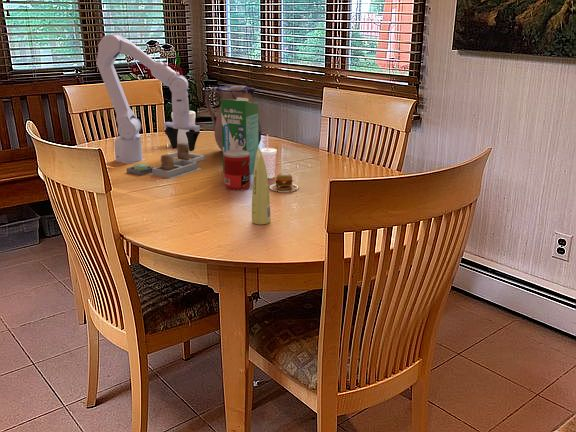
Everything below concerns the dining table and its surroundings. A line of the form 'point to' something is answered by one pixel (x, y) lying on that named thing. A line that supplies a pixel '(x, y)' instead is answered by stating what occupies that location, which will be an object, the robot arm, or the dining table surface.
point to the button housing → (138, 172)
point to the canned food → (237, 169)
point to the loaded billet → (167, 162)
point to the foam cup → (181, 133)
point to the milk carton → (240, 127)
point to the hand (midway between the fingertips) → (183, 149)
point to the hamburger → (283, 182)
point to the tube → (260, 192)
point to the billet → (183, 151)
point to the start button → (140, 166)
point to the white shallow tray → (195, 157)
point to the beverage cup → (269, 160)
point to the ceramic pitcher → (231, 94)
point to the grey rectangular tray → (176, 169)
